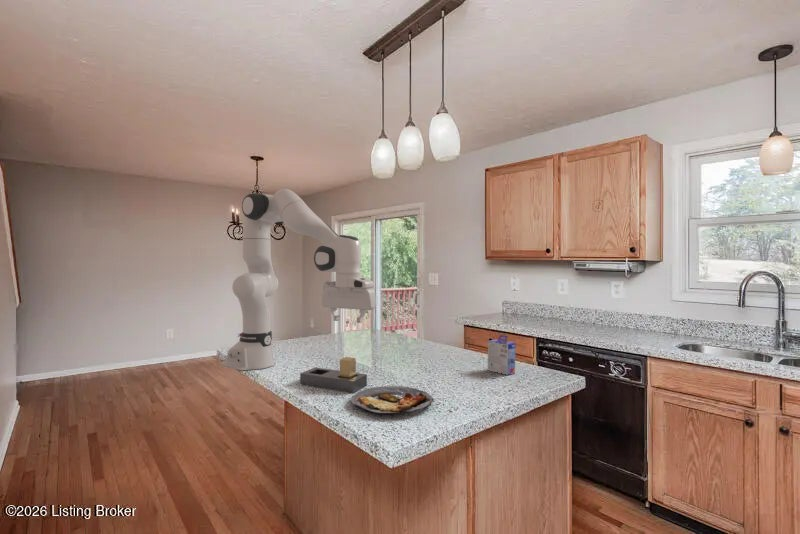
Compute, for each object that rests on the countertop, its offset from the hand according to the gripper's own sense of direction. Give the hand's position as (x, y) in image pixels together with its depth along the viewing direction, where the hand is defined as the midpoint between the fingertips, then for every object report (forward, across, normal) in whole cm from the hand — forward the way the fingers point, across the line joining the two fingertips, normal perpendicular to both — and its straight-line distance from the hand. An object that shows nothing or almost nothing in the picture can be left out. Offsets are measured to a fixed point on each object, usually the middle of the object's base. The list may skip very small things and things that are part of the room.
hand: (348, 321), depth 141 cm
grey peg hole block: (+23, -6, 0) cm, 24 cm away
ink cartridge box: (+23, +45, +43) cm, 66 cm away
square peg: (+23, 0, 0) cm, 23 cm away
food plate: (+23, +21, -8) cm, 33 cm away
